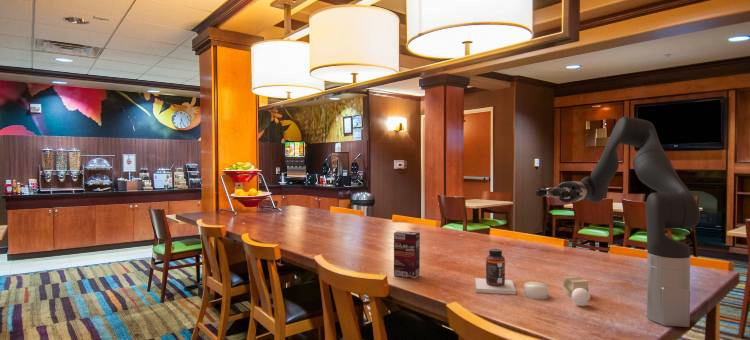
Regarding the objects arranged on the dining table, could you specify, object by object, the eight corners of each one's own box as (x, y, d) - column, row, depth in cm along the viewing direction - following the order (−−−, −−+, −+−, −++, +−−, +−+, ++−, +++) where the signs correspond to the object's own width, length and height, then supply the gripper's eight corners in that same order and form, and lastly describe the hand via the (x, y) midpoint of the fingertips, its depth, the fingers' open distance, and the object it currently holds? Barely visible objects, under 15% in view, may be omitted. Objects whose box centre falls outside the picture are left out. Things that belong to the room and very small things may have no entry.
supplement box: (393, 276, 156) (393, 232, 155) (398, 273, 160) (398, 230, 160) (415, 279, 152) (415, 234, 151) (420, 275, 156) (420, 232, 156)
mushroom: (584, 309, 120) (584, 292, 120) (568, 305, 124) (568, 287, 124) (593, 306, 123) (593, 288, 123) (577, 301, 127) (577, 284, 127)
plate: (516, 294, 134) (516, 290, 134) (476, 292, 136) (476, 288, 136) (511, 283, 146) (511, 280, 146) (475, 281, 148) (475, 278, 148)
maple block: (588, 297, 131) (588, 281, 131) (573, 298, 131) (573, 281, 130) (577, 292, 136) (577, 276, 136) (563, 293, 136) (563, 277, 135)
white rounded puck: (550, 300, 129) (550, 288, 129) (526, 299, 130) (526, 287, 130) (546, 293, 136) (546, 282, 136) (522, 292, 137) (522, 281, 137)
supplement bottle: (505, 287, 138) (505, 252, 137) (486, 286, 139) (486, 251, 139) (504, 282, 143) (504, 248, 143) (485, 281, 145) (485, 247, 144)
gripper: (553, 180, 164) (530, 182, 153) (591, 182, 153) (569, 184, 142) (553, 200, 164) (529, 203, 154) (591, 203, 153) (569, 206, 143)
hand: (548, 194), depth 148 cm, fingers open, 8 cm apart
